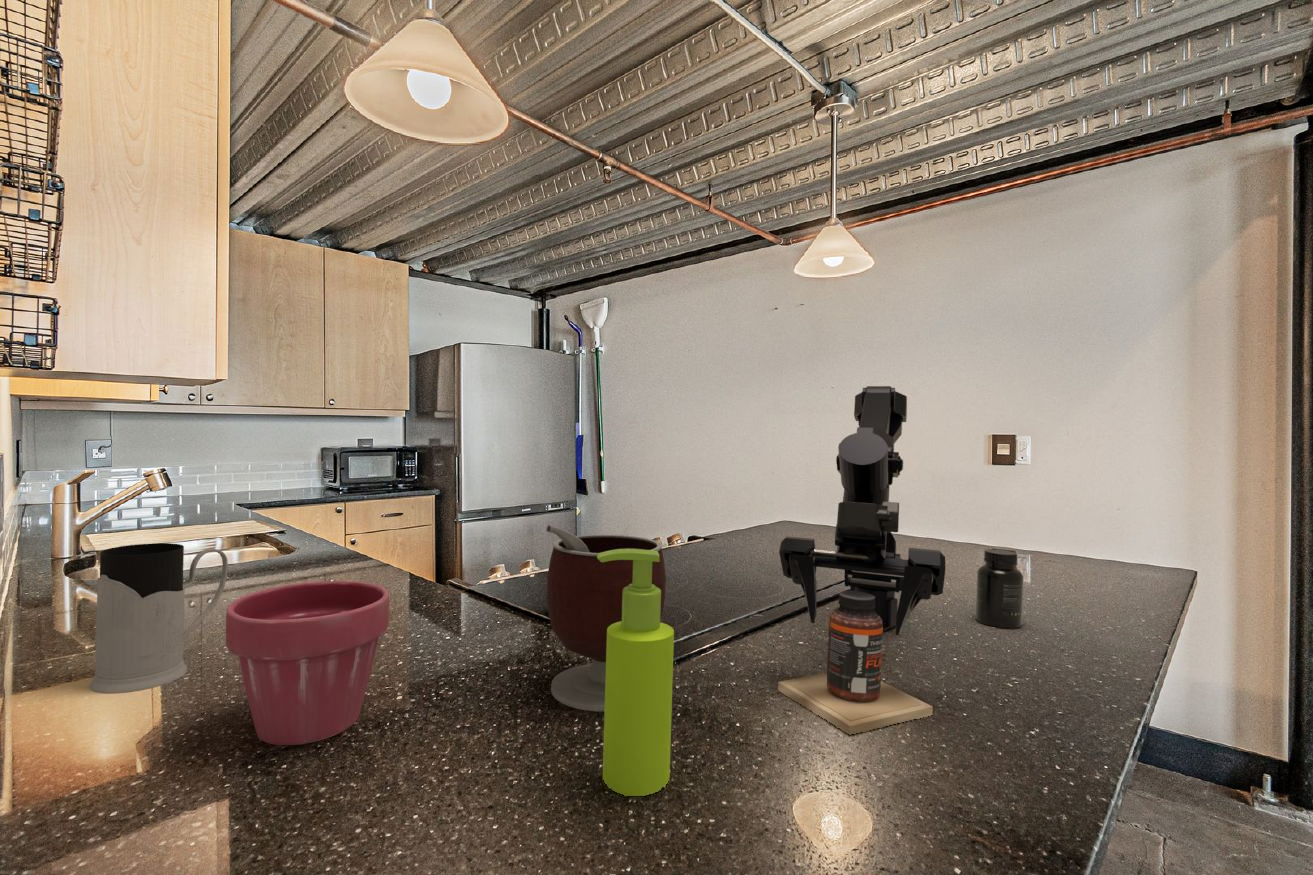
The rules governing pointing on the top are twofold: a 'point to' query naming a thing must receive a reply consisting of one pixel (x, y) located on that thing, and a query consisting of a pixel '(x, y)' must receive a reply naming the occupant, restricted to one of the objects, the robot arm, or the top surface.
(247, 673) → the plant pot
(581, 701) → the mate gourd
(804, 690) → the coaster
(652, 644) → the soap dispenser
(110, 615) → the glass holder
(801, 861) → the top surface
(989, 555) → the supplement bottle
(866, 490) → the robot arm
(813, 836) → the top surface
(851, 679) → the supplement bottle
